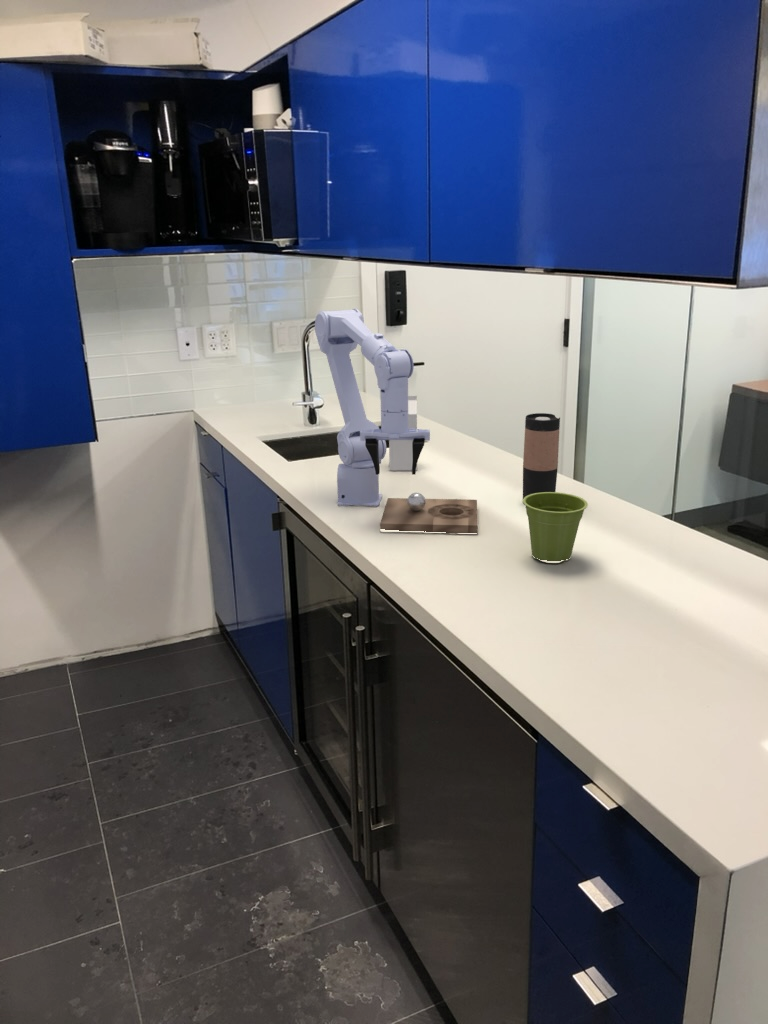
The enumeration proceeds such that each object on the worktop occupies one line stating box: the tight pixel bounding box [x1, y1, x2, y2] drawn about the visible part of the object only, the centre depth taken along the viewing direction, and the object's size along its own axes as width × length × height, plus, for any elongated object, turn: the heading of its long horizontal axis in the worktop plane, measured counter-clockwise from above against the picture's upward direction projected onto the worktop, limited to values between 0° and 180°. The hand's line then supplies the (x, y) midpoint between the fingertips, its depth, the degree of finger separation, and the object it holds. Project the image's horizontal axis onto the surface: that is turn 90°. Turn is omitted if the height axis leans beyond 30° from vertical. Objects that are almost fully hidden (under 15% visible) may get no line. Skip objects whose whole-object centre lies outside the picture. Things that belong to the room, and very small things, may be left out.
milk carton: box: [388, 395, 418, 472], centre depth 215 cm, size 7×7×19 cm
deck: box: [379, 497, 479, 534], centre depth 179 cm, size 20×17×2 cm
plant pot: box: [522, 492, 589, 561], centre depth 156 cm, size 12×12×11 cm
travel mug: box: [522, 412, 561, 504], centre depth 186 cm, size 8×8×20 cm
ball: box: [407, 492, 426, 511], centre depth 178 cm, size 4×4×4 cm
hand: (395, 473), depth 176 cm, fingers open, 7 cm apart
